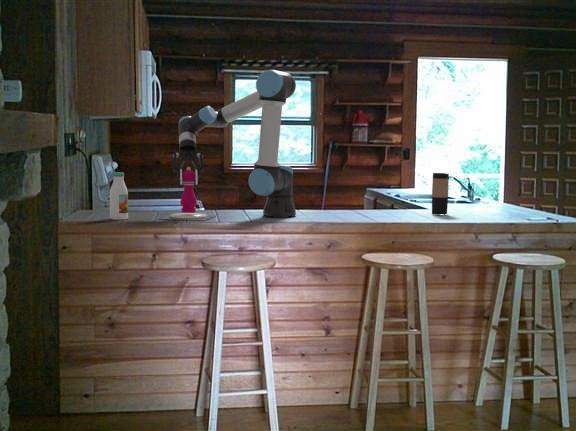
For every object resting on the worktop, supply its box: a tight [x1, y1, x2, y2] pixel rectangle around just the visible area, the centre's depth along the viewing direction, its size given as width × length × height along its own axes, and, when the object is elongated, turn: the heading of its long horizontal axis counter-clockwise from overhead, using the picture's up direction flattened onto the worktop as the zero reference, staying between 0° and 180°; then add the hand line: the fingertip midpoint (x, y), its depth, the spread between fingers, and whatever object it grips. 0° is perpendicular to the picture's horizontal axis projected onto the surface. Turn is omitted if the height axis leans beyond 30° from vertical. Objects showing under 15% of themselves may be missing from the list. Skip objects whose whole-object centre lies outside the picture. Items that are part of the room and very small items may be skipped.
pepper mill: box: [179, 166, 198, 213], centre depth 315 cm, size 7×7×20 cm
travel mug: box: [431, 172, 450, 215], centre depth 346 cm, size 8×8×20 cm
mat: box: [159, 214, 217, 222], centre depth 317 cm, size 20×20×1 cm
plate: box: [169, 212, 208, 219], centre depth 317 cm, size 16×16×1 cm
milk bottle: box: [109, 172, 129, 221], centre depth 308 cm, size 8×8×20 cm
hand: (189, 182), depth 312 cm, fingers closed on pepper mill, 6 cm apart
